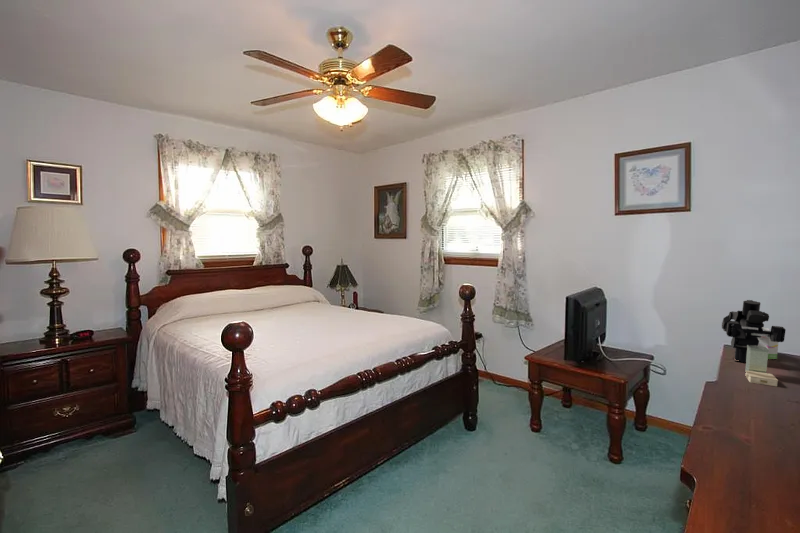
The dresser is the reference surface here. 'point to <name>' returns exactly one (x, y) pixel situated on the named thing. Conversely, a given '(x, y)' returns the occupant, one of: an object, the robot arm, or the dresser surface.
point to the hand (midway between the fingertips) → (760, 338)
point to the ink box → (769, 345)
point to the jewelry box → (761, 378)
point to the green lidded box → (756, 358)
